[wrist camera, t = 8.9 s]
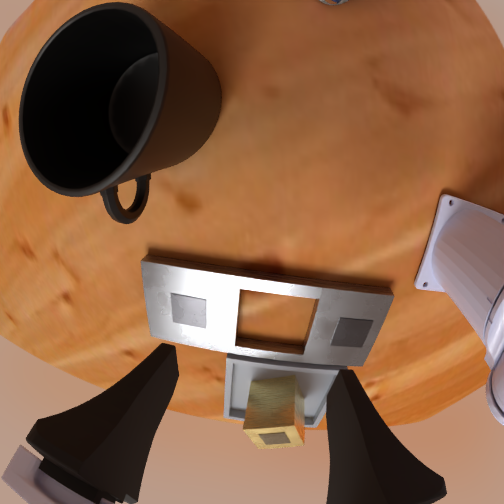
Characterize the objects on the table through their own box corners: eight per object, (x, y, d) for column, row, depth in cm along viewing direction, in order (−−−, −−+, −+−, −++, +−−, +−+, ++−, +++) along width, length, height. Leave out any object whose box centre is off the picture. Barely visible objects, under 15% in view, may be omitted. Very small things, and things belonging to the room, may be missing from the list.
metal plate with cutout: (389, 288, 20) (394, 296, 19) (360, 357, 23) (362, 366, 22) (147, 254, 21) (140, 261, 20) (155, 328, 25) (150, 336, 23)
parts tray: (345, 359, 23) (347, 371, 22) (316, 417, 28) (316, 427, 27) (229, 346, 24) (226, 357, 23) (225, 408, 29) (223, 417, 28)
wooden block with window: (295, 374, 24) (294, 426, 19) (304, 399, 26) (304, 445, 20) (250, 381, 25) (242, 430, 20) (264, 404, 27) (258, 449, 22)
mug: (113, 203, 20) (34, 247, 12) (108, 62, 15) (24, 45, 7) (224, 201, 19) (177, 256, 11) (223, 37, 14) (175, -25, 6)
